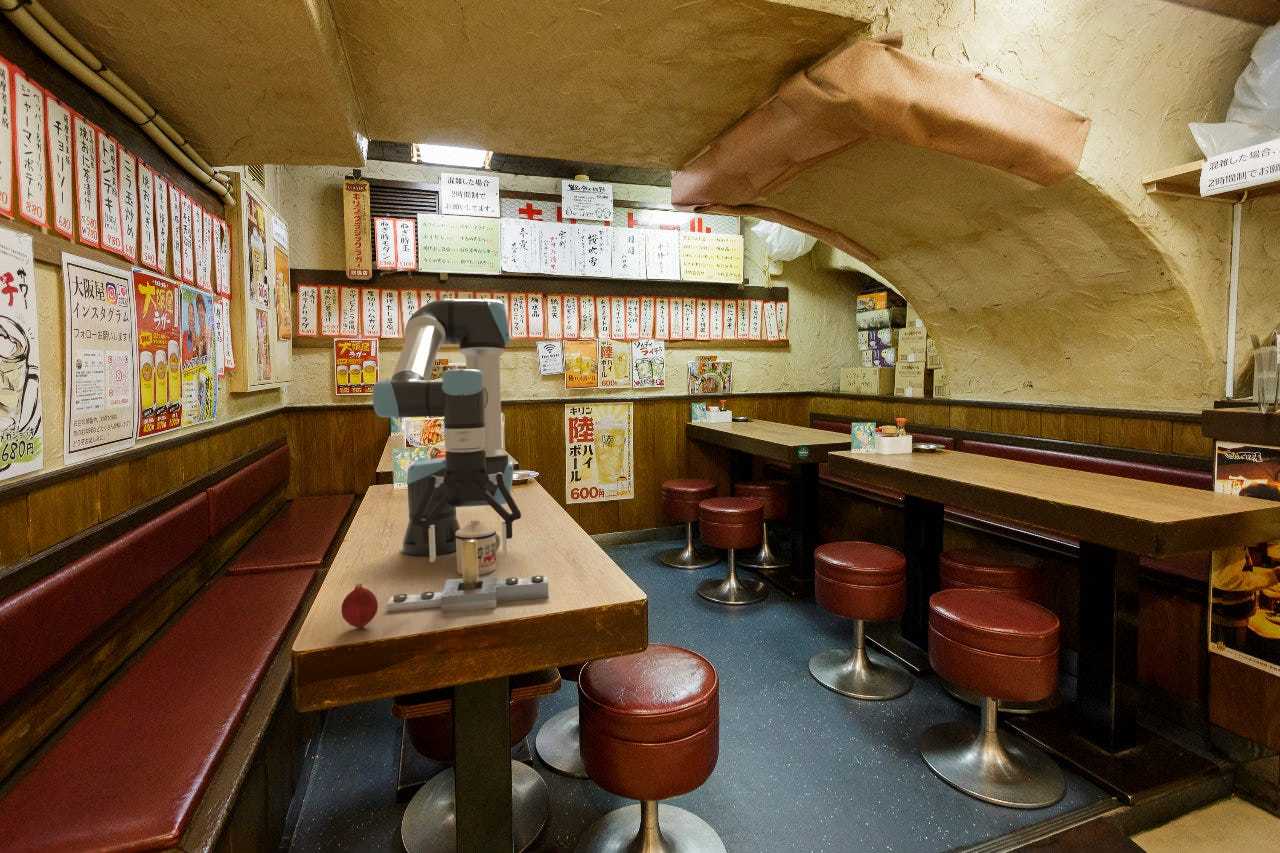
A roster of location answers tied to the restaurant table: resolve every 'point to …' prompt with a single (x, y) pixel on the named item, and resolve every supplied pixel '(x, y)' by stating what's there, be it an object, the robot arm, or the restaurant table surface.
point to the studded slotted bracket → (473, 594)
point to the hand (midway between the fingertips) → (469, 557)
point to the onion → (359, 607)
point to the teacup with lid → (479, 545)
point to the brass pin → (470, 564)
